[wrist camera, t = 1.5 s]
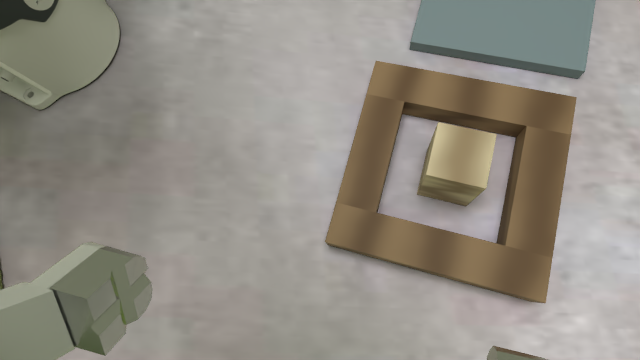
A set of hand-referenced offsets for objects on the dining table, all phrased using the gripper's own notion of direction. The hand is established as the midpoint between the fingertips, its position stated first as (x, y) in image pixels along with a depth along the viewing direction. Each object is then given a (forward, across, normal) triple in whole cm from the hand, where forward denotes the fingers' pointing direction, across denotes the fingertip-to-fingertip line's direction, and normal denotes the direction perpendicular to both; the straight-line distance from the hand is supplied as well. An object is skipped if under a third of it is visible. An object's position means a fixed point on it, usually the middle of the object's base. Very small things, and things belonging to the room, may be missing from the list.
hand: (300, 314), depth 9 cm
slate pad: (+48, -8, -4) cm, 49 cm away
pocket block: (+33, -5, +12) cm, 35 cm away
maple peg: (+33, -5, +12) cm, 35 cm away
